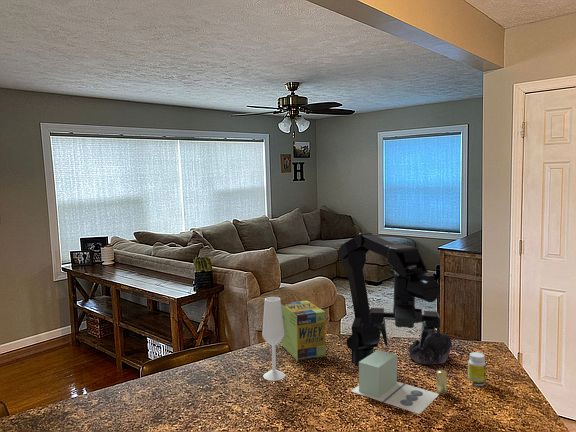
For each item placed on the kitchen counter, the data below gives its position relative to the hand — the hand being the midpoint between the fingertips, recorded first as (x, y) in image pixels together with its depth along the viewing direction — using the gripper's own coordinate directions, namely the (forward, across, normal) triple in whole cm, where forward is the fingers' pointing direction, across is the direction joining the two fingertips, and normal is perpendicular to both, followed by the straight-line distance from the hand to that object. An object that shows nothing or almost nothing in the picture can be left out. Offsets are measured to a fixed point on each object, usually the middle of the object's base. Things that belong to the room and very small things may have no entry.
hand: (403, 347), depth 128 cm
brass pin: (+13, +10, -1) cm, 16 cm away
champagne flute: (+14, -38, +3) cm, 40 cm away
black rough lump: (+14, +9, +25) cm, 30 cm away
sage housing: (+12, -7, -2) cm, 14 cm away
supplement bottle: (+13, +21, +9) cm, 26 cm away
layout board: (+13, -2, -4) cm, 14 cm away
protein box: (+14, -33, +24) cm, 43 cm away
